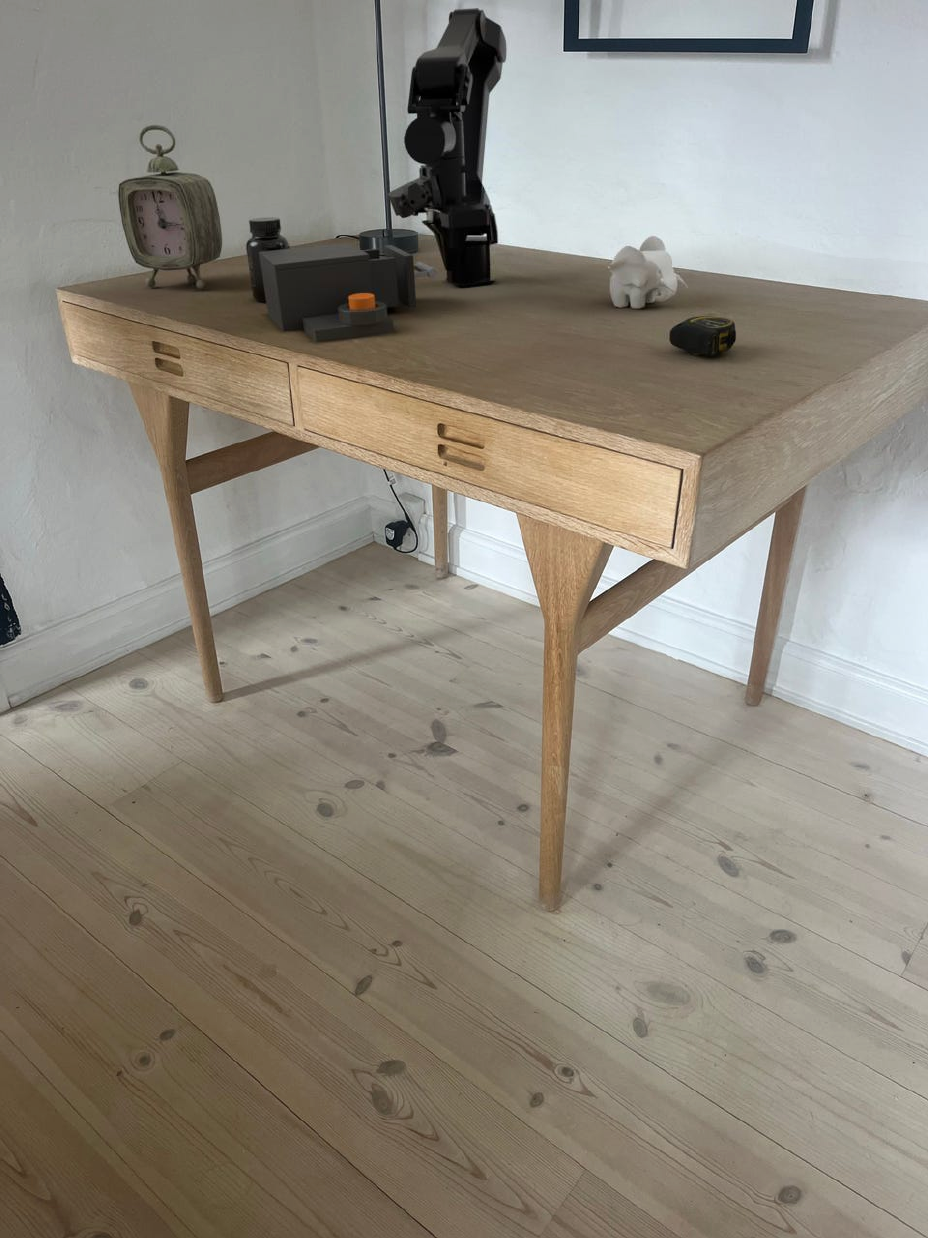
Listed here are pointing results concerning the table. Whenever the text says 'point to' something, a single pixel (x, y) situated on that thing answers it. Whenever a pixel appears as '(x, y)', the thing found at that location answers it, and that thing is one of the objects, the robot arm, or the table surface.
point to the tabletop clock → (170, 217)
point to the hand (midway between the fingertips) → (449, 270)
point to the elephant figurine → (642, 275)
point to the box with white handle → (396, 276)
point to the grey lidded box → (312, 281)
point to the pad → (349, 323)
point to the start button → (361, 301)
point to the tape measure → (704, 335)
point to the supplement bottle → (262, 249)
